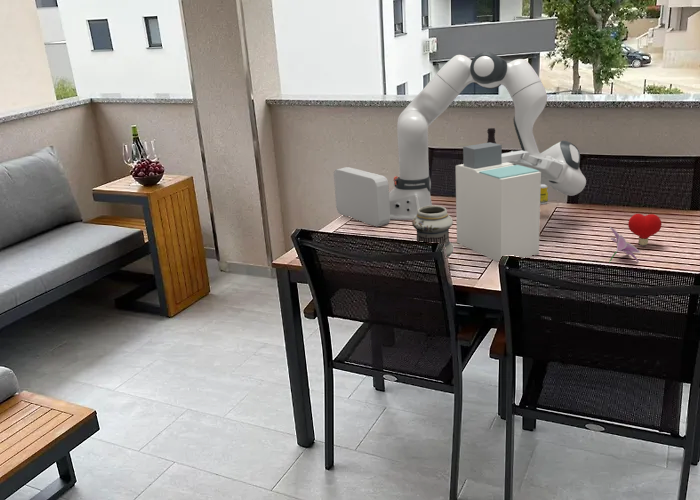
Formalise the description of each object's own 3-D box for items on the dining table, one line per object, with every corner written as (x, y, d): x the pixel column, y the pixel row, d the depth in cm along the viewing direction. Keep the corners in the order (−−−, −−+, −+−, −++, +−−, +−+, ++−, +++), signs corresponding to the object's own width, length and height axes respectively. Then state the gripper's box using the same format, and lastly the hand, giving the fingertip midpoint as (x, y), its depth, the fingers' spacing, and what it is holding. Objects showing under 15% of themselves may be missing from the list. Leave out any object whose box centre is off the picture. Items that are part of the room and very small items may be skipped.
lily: (637, 274, 186) (653, 242, 184) (597, 256, 188) (612, 225, 187) (629, 271, 197) (643, 242, 196) (591, 255, 199) (605, 226, 198)
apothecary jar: (419, 276, 192) (417, 216, 186) (409, 262, 204) (406, 206, 198) (459, 271, 194) (458, 212, 188) (446, 257, 205) (445, 201, 199)
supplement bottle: (532, 204, 254) (532, 179, 251) (534, 200, 259) (534, 176, 256) (547, 204, 252) (547, 179, 249) (548, 201, 257) (549, 176, 254)
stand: (492, 234, 223) (492, 158, 215) (538, 254, 203) (541, 170, 194) (456, 242, 218) (455, 164, 210) (500, 263, 197) (501, 178, 189)
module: (519, 155, 215) (519, 137, 213) (531, 158, 210) (531, 140, 208) (463, 165, 208) (463, 146, 206) (474, 168, 202) (474, 149, 200)
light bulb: (658, 242, 205) (661, 211, 202) (660, 250, 199) (663, 218, 195) (626, 241, 208) (628, 210, 205) (627, 248, 202) (629, 217, 198)
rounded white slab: (395, 223, 243) (393, 175, 237) (378, 228, 239) (376, 179, 233) (352, 209, 266) (349, 164, 260) (336, 213, 262) (333, 168, 256)
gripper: (530, 156, 227) (501, 140, 220) (572, 166, 209) (542, 149, 202) (522, 173, 227) (493, 158, 221) (563, 184, 209) (533, 168, 203)
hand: (517, 154), depth 211 cm, fingers closed on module, 4 cm apart
